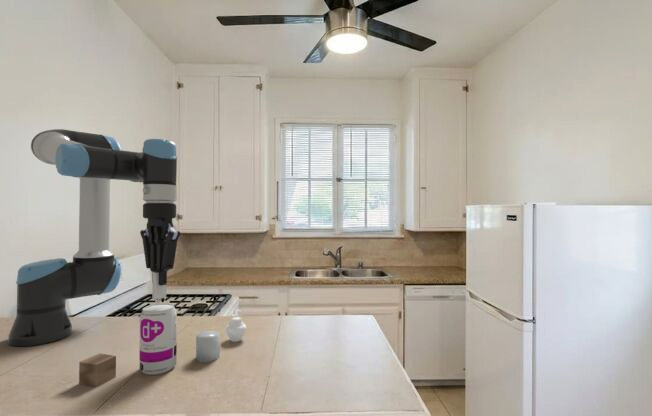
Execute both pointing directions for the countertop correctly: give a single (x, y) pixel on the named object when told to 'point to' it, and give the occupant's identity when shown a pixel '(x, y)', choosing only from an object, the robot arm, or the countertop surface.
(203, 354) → the white rounded cylinder
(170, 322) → the supplement can
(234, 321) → the white ribbed rounded piece
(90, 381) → the walnut block
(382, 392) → the countertop surface
